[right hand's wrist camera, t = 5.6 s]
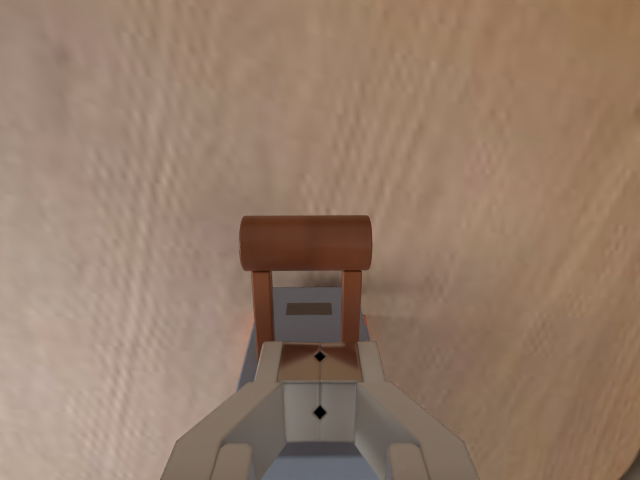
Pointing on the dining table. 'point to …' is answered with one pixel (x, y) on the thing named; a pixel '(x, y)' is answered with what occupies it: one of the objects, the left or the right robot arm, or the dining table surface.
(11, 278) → the dining table surface
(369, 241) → the drawer
